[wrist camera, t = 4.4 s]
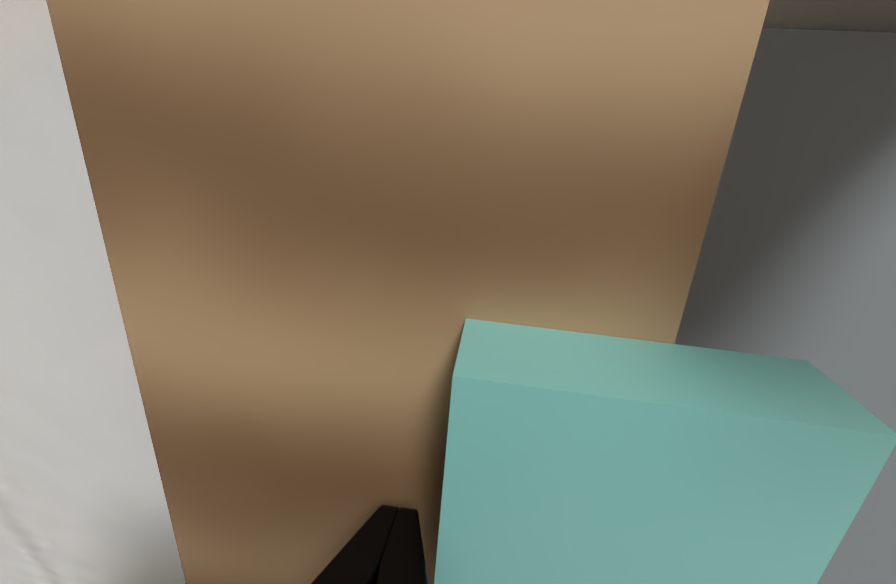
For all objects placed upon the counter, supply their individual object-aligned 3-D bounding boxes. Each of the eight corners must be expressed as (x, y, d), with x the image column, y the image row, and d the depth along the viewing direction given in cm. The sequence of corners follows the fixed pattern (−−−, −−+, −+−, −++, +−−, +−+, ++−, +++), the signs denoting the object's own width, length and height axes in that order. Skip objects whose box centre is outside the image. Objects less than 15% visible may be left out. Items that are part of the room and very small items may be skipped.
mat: (827, 674, 16) (832, 684, 16) (546, 626, 17) (547, 634, 17) (1211, 47, 9) (1237, 44, 8) (674, 27, 10) (679, 24, 9)
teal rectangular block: (671, 672, 11) (704, 782, 9) (435, 626, 12) (421, 721, 10) (807, 360, 8) (900, 436, 6) (465, 318, 8) (452, 375, 6)
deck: (546, 626, 17) (556, 767, 13) (274, 579, 18) (213, 697, 14) (674, 27, 10) (778, -32, 6) (199, 9, 11) (34, -50, 7)
